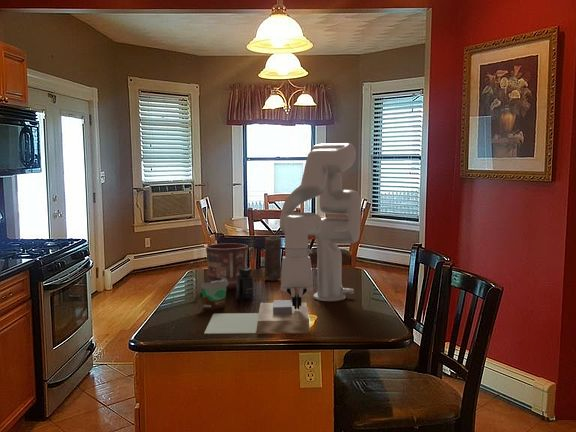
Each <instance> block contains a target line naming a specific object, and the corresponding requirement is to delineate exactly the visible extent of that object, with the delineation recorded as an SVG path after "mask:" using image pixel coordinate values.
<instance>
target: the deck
mask: <svg viewBox="0 0 576 432" xmlns="http://www.w3.org/2000/svg"><path fill="white" fill-rule="evenodd" d="M258 313H259V315H258V320H257V334H258V335H259V334H260V335H261V334H310V317H309V311H308V306H307V302H306V301H305V302H304V301H303V302H302V301H301V306H299V309H295V308H294V306H292V315H273V302H260V304H259V309H258Z"/></svg>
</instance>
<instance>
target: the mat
mask: <svg viewBox="0 0 576 432" xmlns="http://www.w3.org/2000/svg"><path fill="white" fill-rule="evenodd" d="M258 315H259V312H253V313H252V312H249V313H248V312H247V313H246V312H244V313H243V312H242V313H240V312H238V313H237V312H236V313H231V312H230V313H229V312H228V313H213V314H212V316H211V318H210V320H209V321H208V324H207V326H206V329H205V330H204V333H203V334H204V335H235V334H236V335H239V334H241V335H243V334H246V335H247V334H249V335H252V334H253V335H255V334H257V331H258V329H257V320H258Z"/></svg>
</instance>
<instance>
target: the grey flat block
mask: <svg viewBox="0 0 576 432" xmlns="http://www.w3.org/2000/svg"><path fill="white" fill-rule="evenodd" d="M272 303H273V315H292V299H288V300H287V299H285V300H284V299H279V300H277V299H274V300H273V302H272Z"/></svg>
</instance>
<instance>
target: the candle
mask: <svg viewBox="0 0 576 432" xmlns="http://www.w3.org/2000/svg"><path fill="white" fill-rule="evenodd" d="M281 239H282V238H281V236H277V235H275V236H274V235H270V236H267V237H264V273H263V274H264V276H263V277H264V278H263V279H264V281H269V282H275V281H278V280H281V267H282V260H281V258H282V257H281V255H282V253H281V250H282V249H281V248H282V243H281V242H282V241H281Z"/></svg>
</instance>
